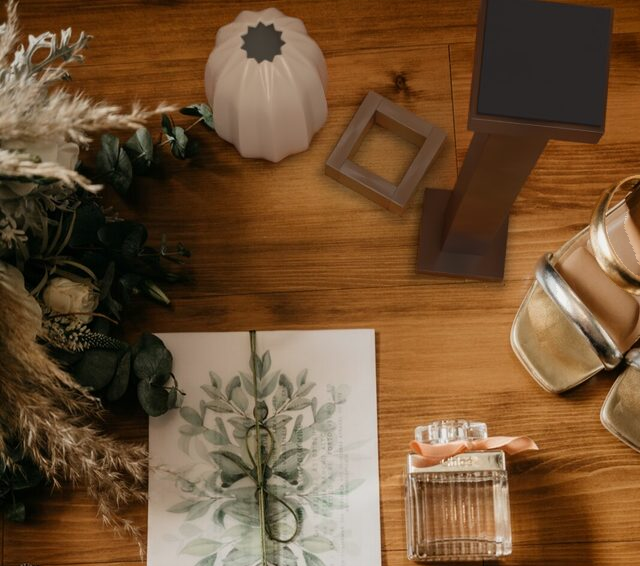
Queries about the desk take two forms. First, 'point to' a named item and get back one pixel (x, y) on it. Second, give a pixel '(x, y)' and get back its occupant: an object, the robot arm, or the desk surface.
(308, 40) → the vase
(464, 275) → the plant stand
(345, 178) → the stand
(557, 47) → the mat
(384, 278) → the desk surface
